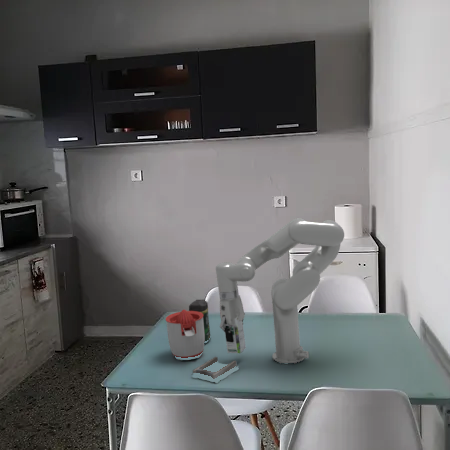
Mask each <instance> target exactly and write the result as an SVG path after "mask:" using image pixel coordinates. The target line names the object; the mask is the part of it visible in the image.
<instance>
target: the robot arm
mask: <svg viewBox="0 0 450 450" xmlns="http://www.w3.org/2000/svg"><path fill="white" fill-rule="evenodd" d="M344 239H345V231H344V229H343V227H342V226H341V225H340V224H339V223H338V222H336V221H334V220H333V219H331V220H330V219H326V220H324V221H322V222H314V221H308V220H306V219H304V218H301V217H297V218H294V219H292V220H291V221H290V222H288V223H287V224H285V225H284V226H283V227H282V228H280V229H279V230H277V232H275V233H274V234H272V235H271V236H270V237H268V238H267V239H266V240H265V239H264V241H262V242H261V243H260V244H258V245H256V246H255V247H253V248H252V249H251V250H250V251H248V252H246V254H244V255H243V256H242V257H240V258H239V259H238V261H237V262H236V264H235V263H233V262H230V261H229V262H221V263H218V264H217V265H216V266H215V274H216V280H217V281H216V282H217V288H218V295H219V314H220V315H219V316H220V324H219V328H220V329H221V330H222V331H223V333H224V335H226V337H225V342H226V341H227V342H234V340H233V333H232V332H231V329H232V326H233V325H235V318H236V317H237V318H238V320H239V321H241V320H242V323H243V324H244V320H245V317H246V316H245V315H246V313H245V310H244V304H243V301H242V299H241V295H240V293H239V287H238V282H242V283H245V282H249V281H251V280H253V279H254V277H255V276H256V270H258V269H259V268H260V267H261V266H263V265H264V264H266V263H267V262H269V261H272V260H274V259H275V260H276V259H279V258H281V257H283V256H284V255H286V254H287V253H288V252H289V251H290V250H292V249H294V247H296V246H297V245H299V244H300V245H308V246H315V247H314V248H313V249H312V250H311V251H310V252H309V253H308V254H307V255H306V256H305V257H303V258H302V260H300V261H299V262H298V263H297V264H295V265H294V266H293V269H292V276H290V277H289V278H279V279H277V280H276V281H274V283H273V284H272V286H271V290H270V291H271V292H270V293H271V294H270V295H271V303H272V312H273V313H272V316H273V327H274V328H273V330H274V340H275V341H274V345H275V352H273V353H272V357H271V359H272V361H274V360H275V361H277V362H280V363H279V364H281V363H294V364H297V362H298V363H300V361H301V362H303V360H305V359H309V357H310V355H309V353H310V351H308V350H304V348H303V347H304V346H301V344H300V343H301V342H300V328H299V326H300V325H299V311H298V306H299V305H300V304H301V303H302V302H303V301H304V300H305V299H307V298H308V297H309V296H310V295H311V294H312V293H313V292H314V291H315V290H317V287H319V285H320V282H321V274H322V273H323V272H324V271H325V270H326V269H327V268H328V267H329V266H330V265H331V264H332V263H333V262H334V261H335V260H336V258H337V257H338V254H339V253H340V249H341V243H342V242H343V241H344ZM226 323H228V324H226ZM227 326H229V329H228V328H227ZM275 361H274V362H275ZM277 362H276V363H277Z"/></svg>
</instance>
